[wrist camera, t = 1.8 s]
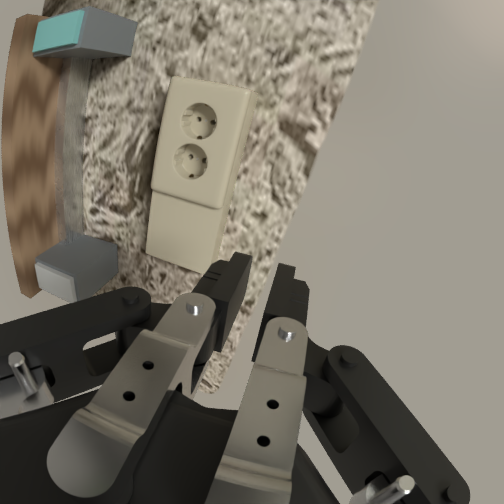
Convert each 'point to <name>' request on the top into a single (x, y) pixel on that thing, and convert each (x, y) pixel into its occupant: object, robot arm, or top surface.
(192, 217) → the electrical outlet
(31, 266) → the mounting panel
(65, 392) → the robot arm
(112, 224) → the top surface
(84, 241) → the block
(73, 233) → the metal rail
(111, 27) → the module
